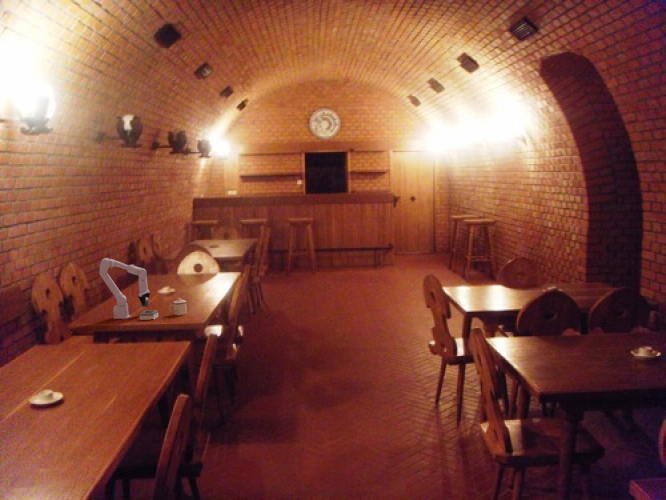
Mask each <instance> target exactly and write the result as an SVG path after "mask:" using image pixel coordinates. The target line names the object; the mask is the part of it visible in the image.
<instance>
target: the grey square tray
mask: <svg viewBox="0 0 666 500" xmlns="http://www.w3.org/2000/svg"><path fill="white" fill-rule="evenodd" d="M139 314H140V316H139V320H140V321H141V320H143V321H145V320H146V321H147V320H151V319H154V320H156V319H157V318H158V317H159V312H158V309H150V310H148V309H145V310H143V311H142V312H140V313H139Z"/></svg>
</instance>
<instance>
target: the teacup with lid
mask: <svg viewBox="0 0 666 500" xmlns="http://www.w3.org/2000/svg"><path fill="white" fill-rule="evenodd" d="M172 306H173V309H172V308H171V307H172ZM168 308H169V310H170V311H171V312H173V313H174V316H184V315H187V314H188V311H187V309H188V308H187V300H184V299H182V298H181V297H177V299H176V300H175V301H173V302H172V304H170V305H169V307H168Z"/></svg>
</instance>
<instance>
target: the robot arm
mask: <svg viewBox="0 0 666 500" xmlns="http://www.w3.org/2000/svg"><path fill="white" fill-rule="evenodd" d="M110 267H111V268H113V267H117V268H120V269H124V270H126V271H127V273H129V274H132V275H135V276H138V287H139V288H138V289H139V293H138V295H137V297H138V299H139V302H140V303H141V304H142V305H145V299H146V297H148V301H149V299H150V296H151V291H150V289H149V286H148V278H147V275H148V272H147V270H146V269H145V268H144V267H139V266H136V265H135V264H129V265H128V264H125V263H124V262H121V261H118V260H116V259H113V258H108V257H104V258H102V259H101V260H100V263H99V275H100V277H101V278H102V280H103V282H104V283H105V285H107V287H108V289H109V290H110V291H111V293H112V295H113V296H114V298H115V299H116V303H117V304H116V305H114V306H113V309H112V310H113V319H114V320H115V319H116V320H117V319H118V320H119V319H123V320H124V319H128V318H130V317H131V316H132V315H131V314H129V306H128V303H127V296H126V295H125V294H123V292H121V290H120V289H119V287H118V286H117V285H116V283H115V282H114V280H113V279H112V277H111V276H110V274H109V273H108V270H109V268H110ZM142 305H141V306H142Z"/></svg>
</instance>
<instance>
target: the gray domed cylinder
mask: <svg viewBox="0 0 666 500" xmlns="http://www.w3.org/2000/svg"><path fill="white" fill-rule="evenodd" d="M149 303H150V301H149V300H148V297H146V299H145V305H142V304H141V308H148V307H149V306H150V304H149Z"/></svg>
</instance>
